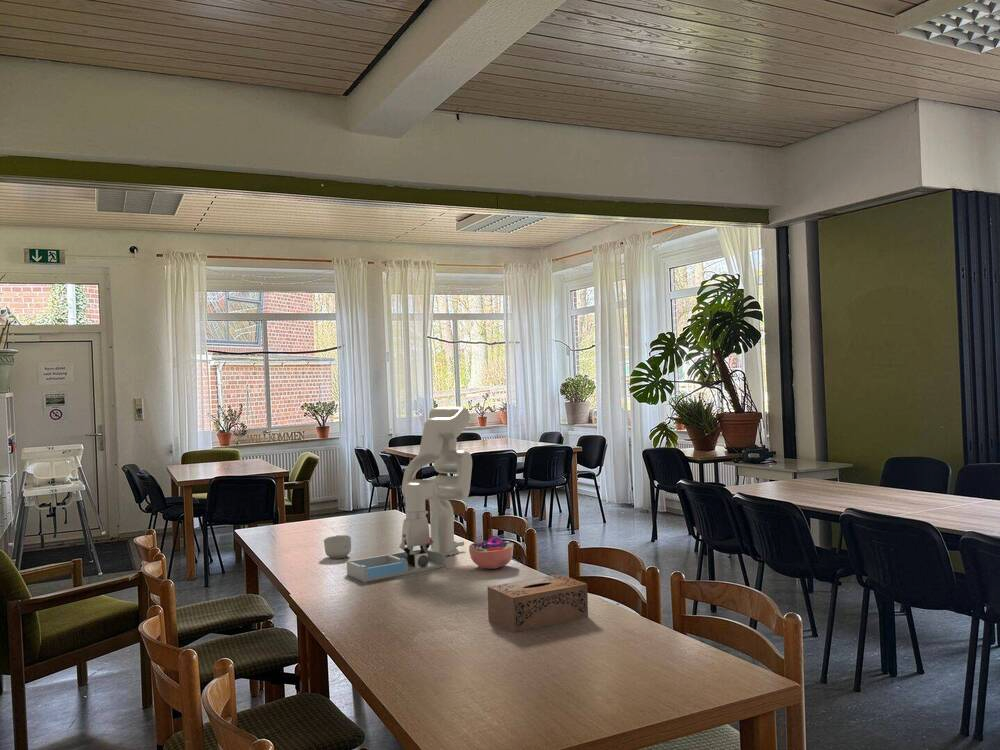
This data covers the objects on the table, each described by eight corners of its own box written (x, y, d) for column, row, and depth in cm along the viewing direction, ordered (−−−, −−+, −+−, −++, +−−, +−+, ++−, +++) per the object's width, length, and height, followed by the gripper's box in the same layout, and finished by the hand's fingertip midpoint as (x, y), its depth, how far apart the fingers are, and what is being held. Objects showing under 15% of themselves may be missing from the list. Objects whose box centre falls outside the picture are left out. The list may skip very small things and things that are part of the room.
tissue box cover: (560, 606, 248) (559, 574, 248) (588, 617, 236) (587, 583, 236) (488, 620, 235) (487, 586, 235) (513, 633, 223) (512, 597, 223)
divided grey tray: (426, 560, 314) (426, 547, 314) (445, 566, 303) (445, 552, 303) (347, 574, 294) (346, 560, 294) (364, 582, 283) (364, 567, 283)
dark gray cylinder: (405, 563, 305) (404, 551, 305) (415, 561, 308) (414, 550, 308) (418, 568, 297) (418, 556, 297) (428, 566, 300) (428, 554, 300)
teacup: (348, 560, 318) (347, 539, 318) (321, 560, 318) (320, 540, 318) (355, 552, 332) (354, 533, 332) (329, 552, 332) (328, 533, 332)
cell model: (458, 571, 295) (458, 540, 295) (484, 559, 313) (484, 531, 313) (499, 575, 288) (498, 544, 288) (523, 563, 305) (523, 534, 305)
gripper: (429, 511, 311) (430, 558, 311) (391, 516, 301) (392, 565, 301) (439, 513, 305) (440, 561, 305) (401, 519, 295) (402, 568, 295)
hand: (416, 562), depth 303 cm, fingers closed on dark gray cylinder, 4 cm apart
